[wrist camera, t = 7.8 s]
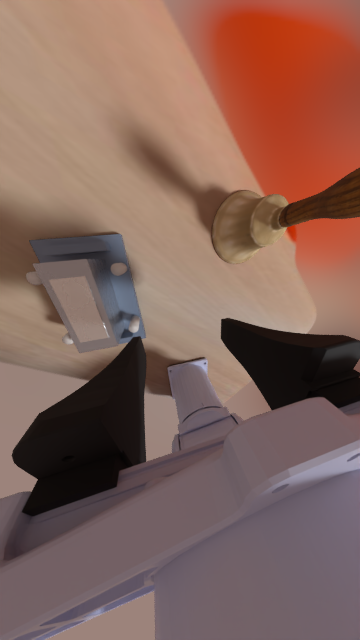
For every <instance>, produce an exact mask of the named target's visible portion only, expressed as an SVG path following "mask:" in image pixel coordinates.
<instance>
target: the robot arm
mask: <svg viewBox="0 0 360 640" xmlns="http://www.w3.org/2000/svg"><path fill="white" fill-rule="evenodd" d="M221 339H222V341H223V343H224V344H225V346H226V347H227V348H228V350H229V351H230V352H231V353H232V354H233V355H234V357H235V358H236V359H237V360H238V361H239V362H240V363H241V365H242V366H243V367H244V368H245V370H246V371H247V372H248V374H249V375H250V377H251V378H252V379H253V381H254V382H255V384H256V385H257V387H258V389H259V390H260V391H261V393H262V395H263V396H264V398H265V400H266V401H267V403H268V405H269V406H270V408H271V410H272V411H269V412H266V413H263V414H260V415H256V416H253V417H251V418H249V419H247V420H245V421H244V420H243V419H242V418H241V417H239V416H238V415H236V414H235V413H232V414H230V413H229V411H228V409H227V407H223V406H222V404H221V402H220V400H219V398H218V396H217V394H216V392H215V390H214V388H213V386H212V384H211V382H210V380H209V378H208V376H207V359H206V358H204V359H200V360H195V361H191V362H186V363H182V364H177V365H173V366H169V367H168V368H167V369H168V375H169V380H170V386H171V392H172V397H173V399H175V402H176V406H177V412H178V418H179V423H180V424H179V425H178V430H179V434H176V435H175V437H174V440H173V442H172V453H171V454H168V455H165V456H162V457H159V458H156V459H153V460H150V461H147V462H146V450H145V425H144V389H145V377H146V354H145V350H144V347H143V343H142V340H141V336H137V337H133V338H132V339H131V340H130V341H129V343H128V344H127V345H126V346H125V348H124V349H123V350H122V351H121V352H120V354H119V355H118V356H117V357H116V358H115V359H114V360H113V361H112V362H111V363H110V364H109V365H108V366H107V367H106V368H105V369H104V370H103V371H101V372H100V373H99V374H98V375H96V376H95V377H94V378H93V379H91V380H90V381H89V382H88V383H86V384H85V385H84V386H82V387H81V388H79V389H78V390H76V391H75V392H74V393H72V394H71V395H69V396H67V397H66V398H64V399H63V400H61V401H60V402H58V403H56V404H55V405H53V406H51V407H50V408H48V409H46V410H45V411H43V412H41V413H39V415H38V416H37V417H36V419H35V420H34V422H33V423H32V424H31V426H30V427H29V429H28V430H27V431H26V433H25V434H24V436H23V437H22V438H21V440H20V441H19V443H18V444H17V445H16V447H15V448H14V450H13V453H12V457H13V461H14V463H15V464H16V465H17V466H18V467H20V468H21V469H23V470H24V471H26V472H27V473H29V474H30V475H32V476H34V477H35V478H37V479H38V481H37V483H36V485H35V487H34V488H33V490H32V492H21V493H17V494H14V495H11V496H8V497H5V498H1V499H0V640H45V639H48V638H50V637H52V636H54V635H56V634H59V633H61V632H63V631H65V630H67V629H70V628H72V627H74V626H76V625H79V624H81V623H83V622H85V621H88V620H90V619H92V618H94V617H97V616H99V615H101V614H103V613H106V612H108V611H110V610H112V609H114V608H117V607H119V606H121V605H123V604H126V603H128V602H130V601H132V600H135V599H137V598H139V597H141V596H144V595H146V594H148V593H150V592H153V591H154V592H155V640H360V378H359V376H360V373H359V372H357V371H356V370H354V369H353V368H354V367H355V365H356V364H357V362H358V360H359V359H360V341H359V340H356V339H354V338H351V337H349V336H344V335H314V334H301V333H292V332H284V331H278V330H272V329H267V328H263V327H259V326H255V325H251V324H248V323H245V322H241V321H238V320H234V319H230V318H226V319H221ZM170 370H171V371H170Z"/></svg>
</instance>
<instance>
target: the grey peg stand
mask: <svg viewBox="0 0 360 640" xmlns="http://www.w3.org/2000/svg"><path fill="white" fill-rule="evenodd" d="M29 242H30V244H31V246H32V248H33V250H34V252H35V254H36V256H37V257H38V259H39V261H40V263H47V262H58V261H69V260H81V259H105V262H106V265H107V268H108V272H109V275H110V278H111V282H112V285H113V288H114V291H115V295H116V298H117V301H118V305H119V308H120V311H121V314H122V318H123V321H124V324H125V327H124V330H123V333H122V336H121V339H120V342H119V344H122V343H127V342H129V341H130V340H131V339H132V338H133V337H137V336H141V339H143V338H146V334H145V330H144V326H143V322H142V317H141V313H140V309H139V305H138V301H137V297H136V292H135V288H134V284H133V280H132V276H131V272H130V267H129V263H128V259H127V255H126V251H125V247H124V243H123V238H122V235H121V234H113V235H99V236H85V237H70V238H56V239H42V240H29ZM26 279H27V281H28V282H29V283H31V284H33V285H40V284H43V283H42V281H41V279H40V277H39V276H38V274H37V272H36V271H35V272H28V273H27V274H26ZM62 341H63V342H64V343H65V344H72V343H74V342H73V340H72V338H71V336H70V334H69V332H68V333H67V334H66V335H65V336H64V337H63V338H62Z"/></svg>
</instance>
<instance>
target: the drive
mask: <svg viewBox="0 0 360 640" xmlns="http://www.w3.org/2000/svg"><path fill="white" fill-rule="evenodd" d="M33 266H34V268H35V270H36V272H37V274H38V276H39V277H40V279H41V281H42V283H43V285H44V287H45V289H46V291H47V293H48V294H49V296H50V298H51V300H52V302H53V304H54V306H55V308H56V310H57V311H58V313H59V315H60V317H61V319H62V321H63V323H64V325H65V327H66V329H67V330H68V332H69V334H70V336H71V338H72V340H73V342H74V344H75V346H76V347H77V349H78V351H79V353H83V352H88V351H94V350H99V349H104V348H110V347H115V346H118V344H119V342H120V339H121V336H122V333H123V330H124V327H125V324H124V321H123V318H122V314H121V311H120V308H119V305H118V301H117V298H116V295H115V291H114V288H113V285H112V282H111V278H110V275H109V272H108V268H107V265H106V262H105V259H81V260H69V261H58V262H47V263H35V264H33Z"/></svg>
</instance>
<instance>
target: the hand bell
mask: <svg viewBox="0 0 360 640" xmlns="http://www.w3.org/2000/svg"><path fill="white" fill-rule="evenodd" d="M355 217H360V168H358V169H356V170H355V171H353V172H351V173H350V174H348V175H347V176H345V177H344V178H342V179H341V180H339V181H338V182H336V183H335V184H334V185H332V186H331V187H329V188H328V189H326V190H325V191H323V192H321V193H319V194H316V195H314V196H311V197H308V198H306V199H303V200H300V201H297V202H294V203H291V204H288V202H287V200H286V199H285V198H284V197H283V196H281V195H279V194H272V195H268V196H266V197H261V196H260V195H258V194H257V193H255V192H252V191H239V192H236V193H234V194H232V195H231V196H229V197H228V198H227V199H226V200H225V201H224V202H223V203H222V205H221V206H220V208H219V209H218V211H217V213H216V216H215V219H214V222H213V227H212V240H213V245H214V248H215V250H216V252H217V254H218V255H219V256H220V258H221V259H223V260H224V261H226V262H228V263H232V264H239V263H243V262H245V261H247V260H249V259H250V258H252V257H253V256H254V255H255V254H256V253H257V252H258V251H259V250H260V248H262V247H266V246H269V245H272V244H273V243H275V242H276V241H277V240H279V239H280V237H281V236H282V235H283V234H284V232H285V230H286V228H287V227H289V226H292V225H296V224H299V223H302V222H306V221H309V220H313V219H318V218H331V219H346V218H355Z"/></svg>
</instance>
